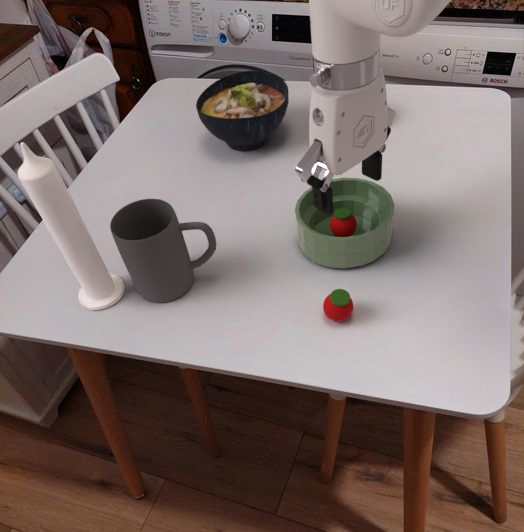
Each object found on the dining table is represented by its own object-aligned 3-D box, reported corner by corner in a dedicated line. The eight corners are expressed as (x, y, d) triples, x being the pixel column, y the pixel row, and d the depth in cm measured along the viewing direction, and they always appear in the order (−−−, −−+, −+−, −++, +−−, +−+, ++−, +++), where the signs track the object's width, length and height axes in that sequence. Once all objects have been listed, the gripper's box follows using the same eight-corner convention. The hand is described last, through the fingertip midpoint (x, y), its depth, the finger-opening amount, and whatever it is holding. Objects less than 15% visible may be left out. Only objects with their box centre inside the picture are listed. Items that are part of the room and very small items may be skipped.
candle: (76, 287, 80) (-11, 138, 60) (119, 271, 81) (47, 119, 61) (84, 317, 76) (-7, 168, 56) (129, 299, 77) (56, 147, 57)
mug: (133, 307, 76) (103, 245, 66) (140, 264, 81) (114, 201, 72) (224, 297, 75) (207, 233, 65) (225, 255, 80) (209, 190, 71)
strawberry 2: (324, 300, 71) (327, 281, 68) (352, 306, 71) (357, 287, 67) (319, 324, 69) (322, 305, 66) (348, 329, 69) (353, 311, 65)
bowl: (191, 160, 98) (177, 109, 90) (225, 113, 107) (216, 63, 99) (274, 169, 93) (268, 116, 85) (303, 119, 102) (300, 66, 94)
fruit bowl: (342, 198, 85) (342, 166, 80) (410, 235, 78) (415, 202, 73) (279, 241, 81) (275, 210, 76) (345, 285, 73) (346, 254, 68)
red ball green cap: (343, 224, 80) (342, 201, 77) (362, 234, 78) (362, 210, 75) (325, 237, 79) (323, 214, 76) (344, 247, 77) (343, 224, 74)
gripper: (315, 108, 54) (323, 235, 67) (421, 44, 60) (409, 173, 73) (268, 89, 58) (285, 213, 71) (372, 31, 64) (369, 156, 77)
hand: (347, 193), depth 72 cm, fingers open, 9 cm apart
